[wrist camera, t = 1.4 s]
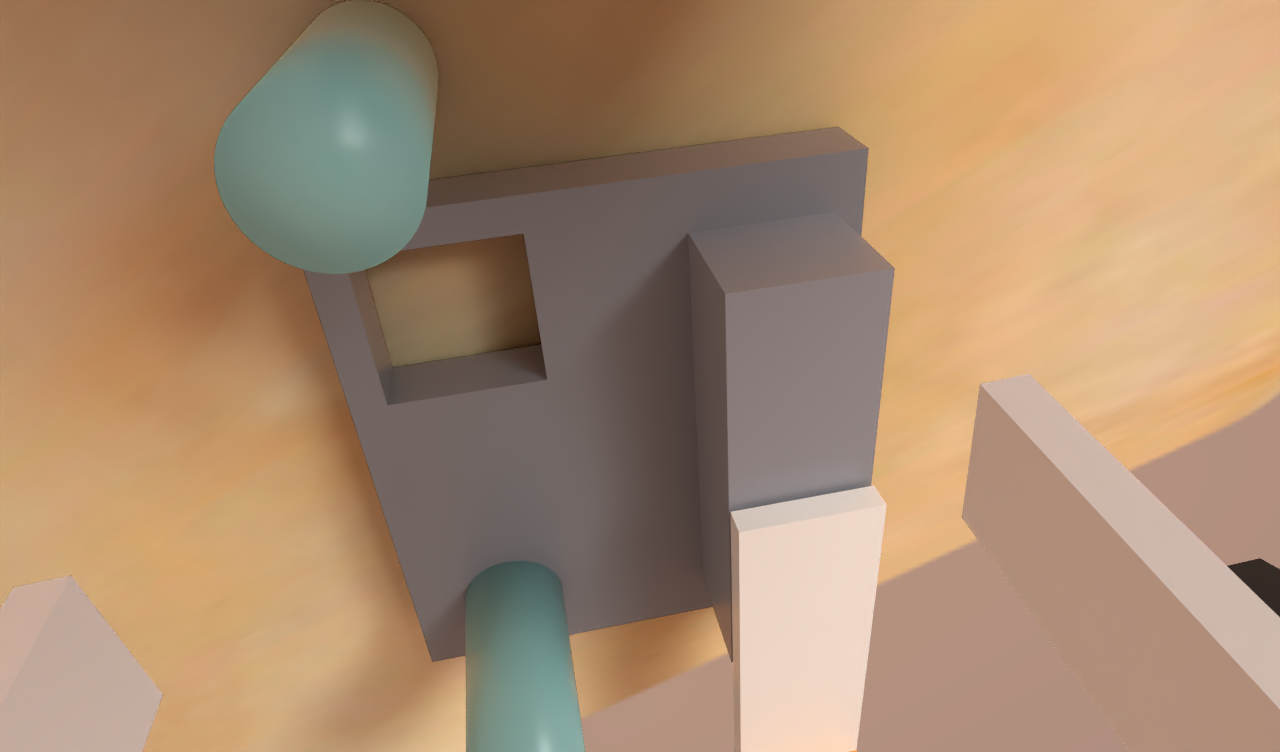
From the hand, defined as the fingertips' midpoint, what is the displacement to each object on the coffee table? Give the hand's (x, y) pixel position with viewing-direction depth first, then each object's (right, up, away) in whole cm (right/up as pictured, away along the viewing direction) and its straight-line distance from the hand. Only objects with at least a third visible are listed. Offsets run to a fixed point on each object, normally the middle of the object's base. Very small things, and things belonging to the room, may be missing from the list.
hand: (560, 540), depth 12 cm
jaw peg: (-7, +12, +12) cm, 18 cm away
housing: (0, +1, +20) cm, 20 cm away
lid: (+7, -8, +19) cm, 22 cm away
